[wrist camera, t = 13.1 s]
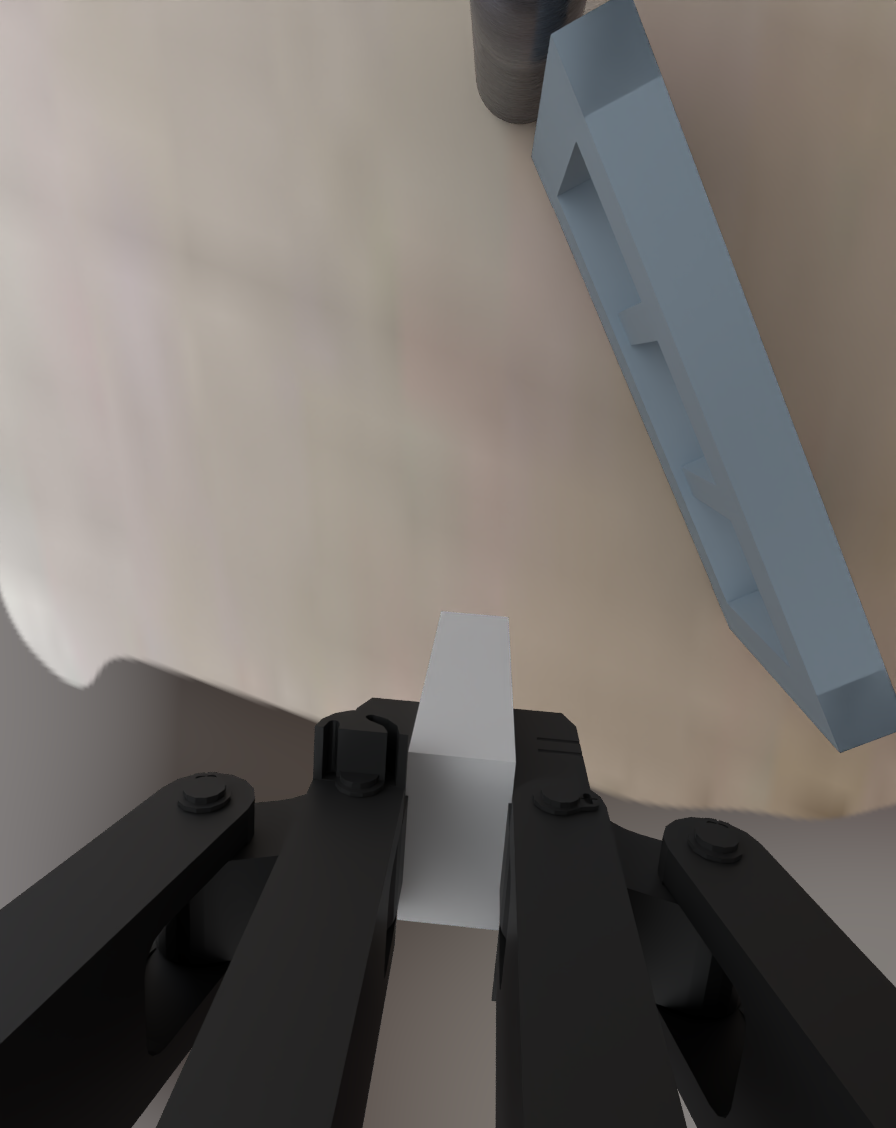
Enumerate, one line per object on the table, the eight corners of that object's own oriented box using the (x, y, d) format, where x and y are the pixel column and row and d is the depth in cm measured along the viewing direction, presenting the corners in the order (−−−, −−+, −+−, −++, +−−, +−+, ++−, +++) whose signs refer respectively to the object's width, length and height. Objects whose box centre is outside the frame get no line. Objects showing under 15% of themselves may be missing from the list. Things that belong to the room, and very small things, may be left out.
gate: (580, 130, 23) (629, -11, 14) (774, 610, 26) (908, 727, 18) (531, 156, 23) (550, 34, 15) (729, 628, 26) (839, 753, 18)
